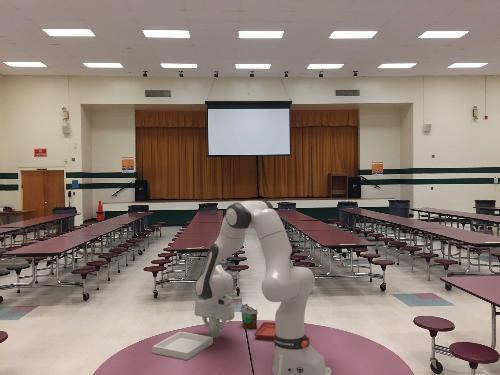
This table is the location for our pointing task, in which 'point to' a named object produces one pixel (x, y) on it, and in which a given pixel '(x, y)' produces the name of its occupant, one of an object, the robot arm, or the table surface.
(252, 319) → the food container
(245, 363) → the table surface
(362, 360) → the table surface
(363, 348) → the table surface
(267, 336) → the plant saucer
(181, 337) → the tray
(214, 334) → the cylinder
